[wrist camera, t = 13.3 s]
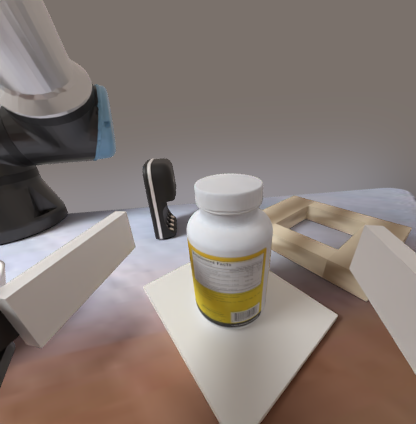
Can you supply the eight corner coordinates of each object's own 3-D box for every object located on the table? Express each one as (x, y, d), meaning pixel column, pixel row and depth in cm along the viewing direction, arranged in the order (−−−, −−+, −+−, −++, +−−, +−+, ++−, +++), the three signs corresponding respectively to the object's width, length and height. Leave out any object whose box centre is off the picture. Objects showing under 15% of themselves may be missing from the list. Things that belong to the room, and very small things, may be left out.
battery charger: (181, 239, 29) (170, 163, 24) (155, 242, 28) (140, 166, 23) (180, 218, 35) (172, 155, 30) (160, 220, 35) (148, 156, 30)
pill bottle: (232, 266, 22) (231, 166, 17) (280, 304, 17) (299, 181, 12) (183, 295, 19) (164, 182, 14) (225, 352, 14) (221, 210, 9)
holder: (241, 233, 29) (242, 219, 28) (292, 207, 37) (294, 195, 36) (366, 302, 18) (375, 282, 17) (404, 244, 25) (411, 227, 24)
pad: (144, 290, 20) (143, 286, 20) (227, 246, 27) (227, 242, 26) (237, 454, 10) (237, 450, 10) (336, 319, 16) (338, 315, 16)
